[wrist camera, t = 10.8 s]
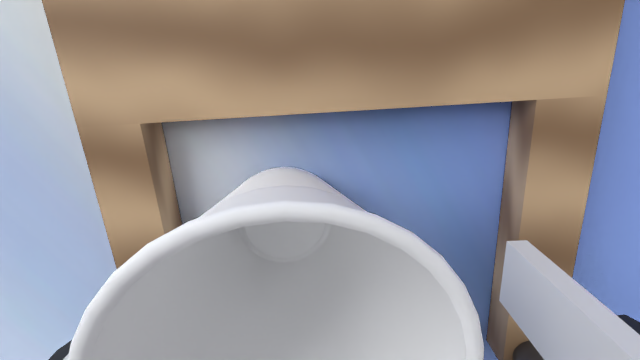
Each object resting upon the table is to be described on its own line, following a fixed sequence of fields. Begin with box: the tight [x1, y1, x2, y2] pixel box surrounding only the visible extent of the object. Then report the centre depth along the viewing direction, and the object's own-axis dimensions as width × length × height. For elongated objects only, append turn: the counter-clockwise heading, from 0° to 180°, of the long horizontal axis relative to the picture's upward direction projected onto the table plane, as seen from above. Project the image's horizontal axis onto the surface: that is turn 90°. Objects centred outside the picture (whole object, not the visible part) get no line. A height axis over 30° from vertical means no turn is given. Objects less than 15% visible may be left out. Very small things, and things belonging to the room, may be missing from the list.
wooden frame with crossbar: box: [42, 0, 625, 360], centre depth 14 cm, size 22×24×8 cm
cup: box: [68, 167, 484, 360], centre depth 13 cm, size 10×10×11 cm
